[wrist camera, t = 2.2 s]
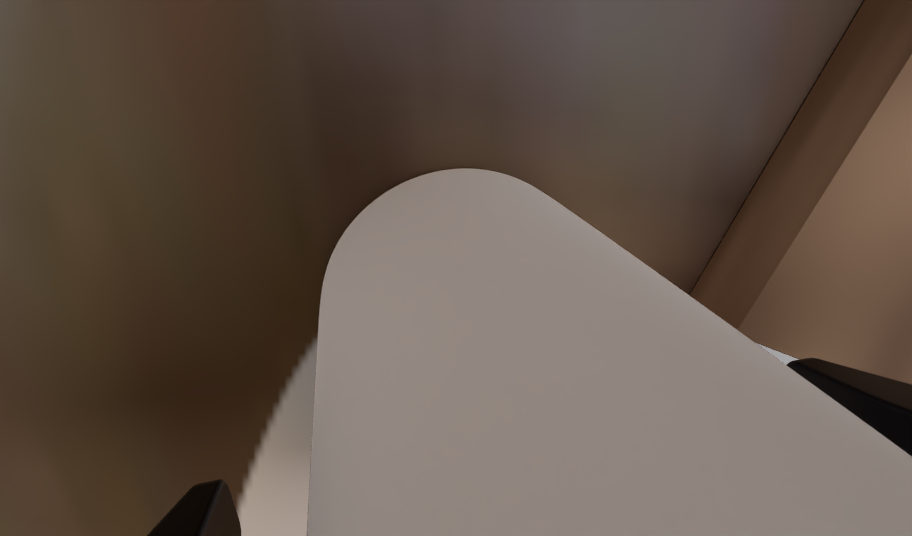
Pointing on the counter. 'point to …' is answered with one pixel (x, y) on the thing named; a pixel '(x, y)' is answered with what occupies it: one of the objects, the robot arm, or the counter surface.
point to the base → (833, 214)
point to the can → (561, 390)
